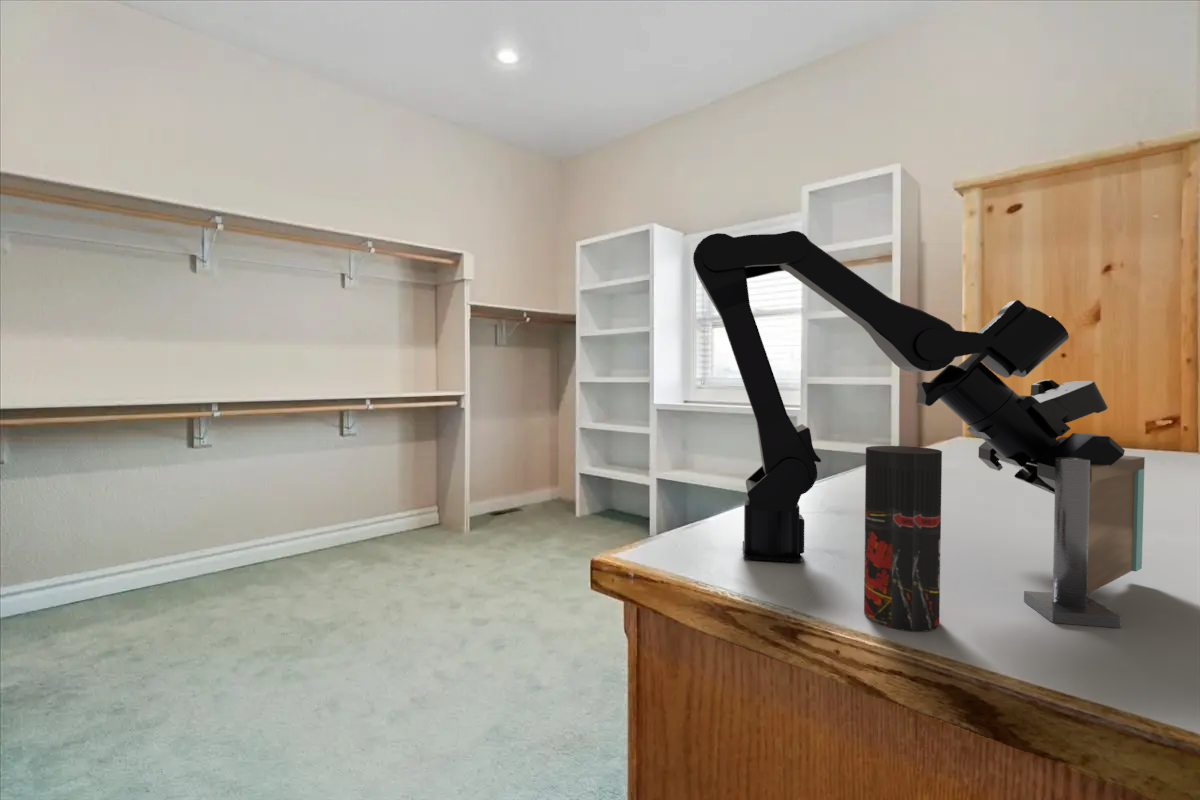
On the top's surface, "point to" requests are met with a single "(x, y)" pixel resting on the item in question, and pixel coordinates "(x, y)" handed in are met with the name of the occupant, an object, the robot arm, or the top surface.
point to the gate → (1115, 520)
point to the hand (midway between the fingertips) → (1101, 509)
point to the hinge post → (1071, 553)
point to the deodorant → (903, 537)
